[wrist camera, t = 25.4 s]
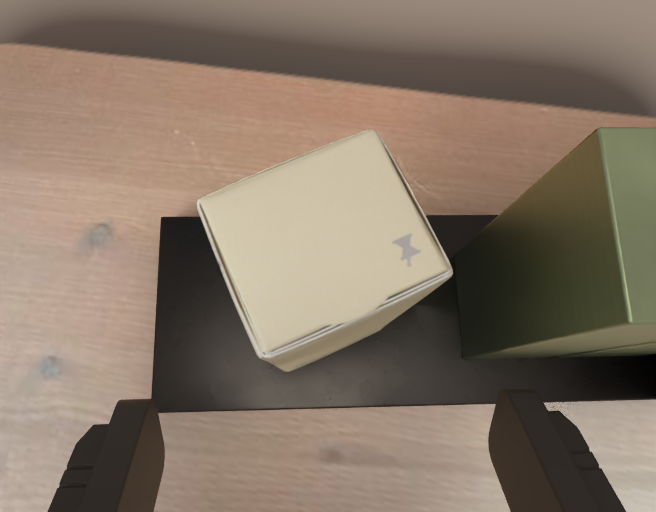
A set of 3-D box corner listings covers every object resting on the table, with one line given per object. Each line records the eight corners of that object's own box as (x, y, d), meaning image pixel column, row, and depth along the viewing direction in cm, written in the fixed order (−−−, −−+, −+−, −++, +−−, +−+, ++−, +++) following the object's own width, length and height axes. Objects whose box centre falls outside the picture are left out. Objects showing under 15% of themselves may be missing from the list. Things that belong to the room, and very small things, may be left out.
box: (343, 247, 26) (387, 113, 14) (384, 332, 25) (470, 271, 13) (240, 292, 25) (186, 192, 13) (278, 381, 24) (260, 366, 12)
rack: (157, 412, 25) (-16, 434, 11) (166, 224, 27) (32, 49, 13) (662, 398, 26) (1061, 403, 13) (631, 221, 29) (943, 60, 15)
